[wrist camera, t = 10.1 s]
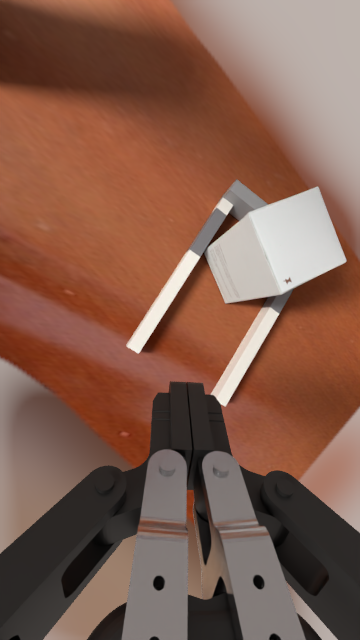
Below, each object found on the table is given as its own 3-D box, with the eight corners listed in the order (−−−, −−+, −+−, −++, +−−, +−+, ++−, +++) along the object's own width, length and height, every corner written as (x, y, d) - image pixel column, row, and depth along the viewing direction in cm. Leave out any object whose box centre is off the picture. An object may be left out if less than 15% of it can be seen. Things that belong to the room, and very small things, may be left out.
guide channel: (126, 345, 34) (128, 350, 28) (225, 191, 36) (246, 166, 30) (219, 402, 36) (239, 418, 30) (305, 254, 39) (339, 243, 33)
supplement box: (273, 282, 38) (350, 264, 25) (224, 304, 36) (280, 297, 24) (252, 228, 37) (321, 183, 25) (201, 249, 36) (247, 211, 23)
